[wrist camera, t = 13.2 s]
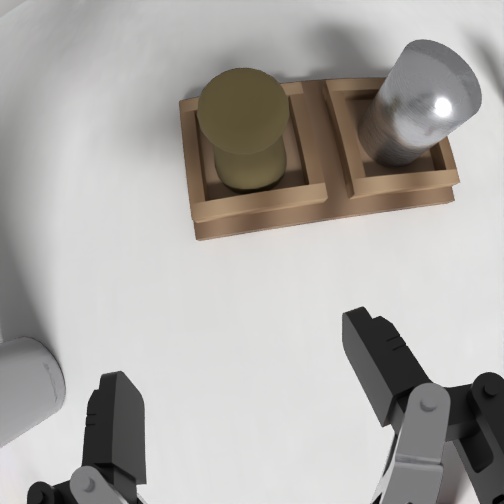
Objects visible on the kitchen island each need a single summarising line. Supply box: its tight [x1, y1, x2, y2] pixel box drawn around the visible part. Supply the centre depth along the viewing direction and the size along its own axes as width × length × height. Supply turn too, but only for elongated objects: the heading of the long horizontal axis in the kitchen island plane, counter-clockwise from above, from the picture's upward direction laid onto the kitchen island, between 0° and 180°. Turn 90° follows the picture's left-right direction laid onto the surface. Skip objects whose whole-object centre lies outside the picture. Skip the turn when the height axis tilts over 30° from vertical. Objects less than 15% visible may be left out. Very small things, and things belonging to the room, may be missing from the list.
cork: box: [197, 68, 289, 195], centre depth 21 cm, size 6×6×11 cm
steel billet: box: [358, 40, 482, 168], centre depth 21 cm, size 6×6×11 cm
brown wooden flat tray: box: [179, 78, 460, 241], centre depth 26 cm, size 24×13×4 cm, turn 99°
